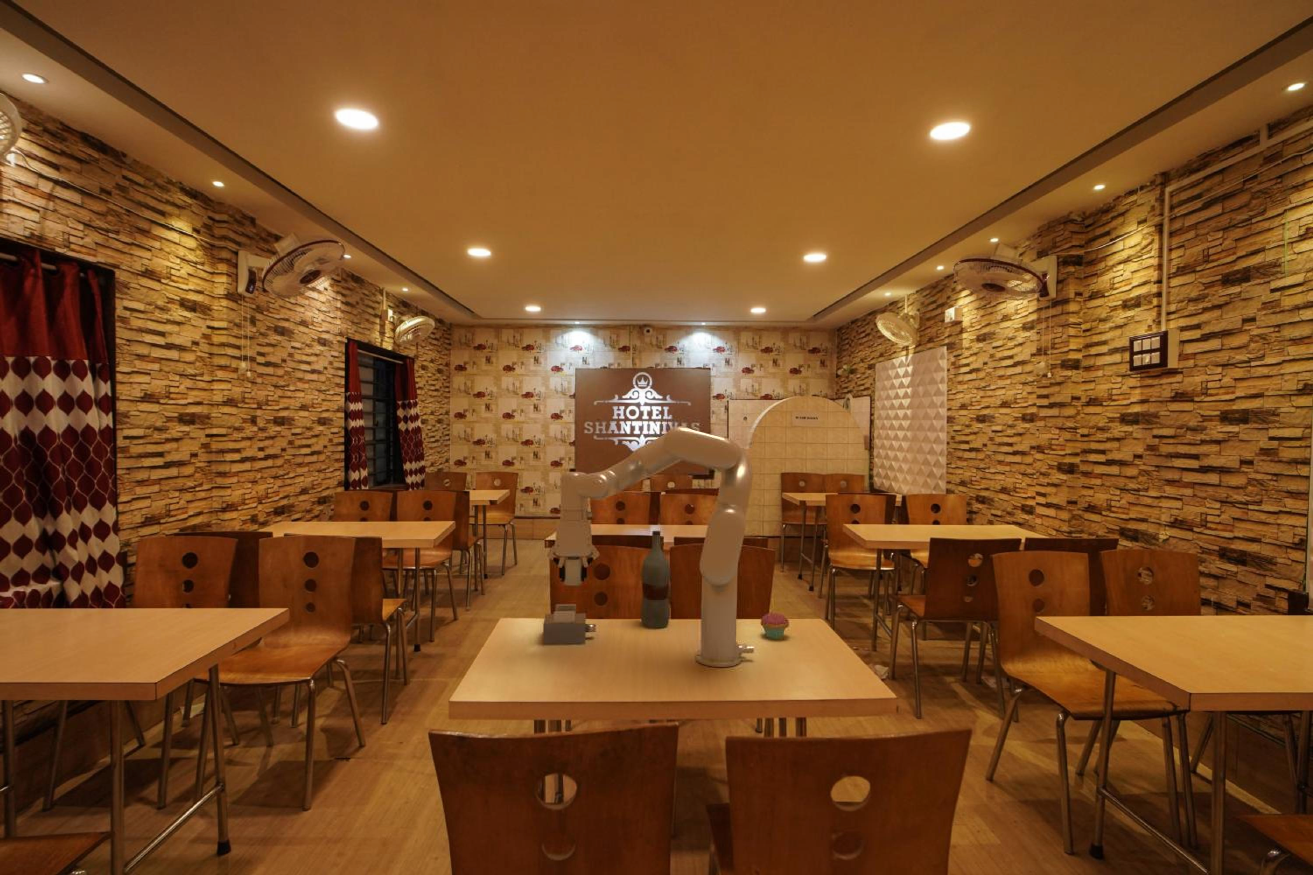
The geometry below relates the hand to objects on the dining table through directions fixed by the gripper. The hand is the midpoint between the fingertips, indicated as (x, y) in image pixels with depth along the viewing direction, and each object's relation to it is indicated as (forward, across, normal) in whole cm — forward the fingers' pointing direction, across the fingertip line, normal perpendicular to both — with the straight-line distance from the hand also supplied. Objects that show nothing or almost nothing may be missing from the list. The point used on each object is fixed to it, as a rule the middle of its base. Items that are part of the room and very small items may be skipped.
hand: (572, 579), depth 176 cm
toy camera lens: (+1, 0, 0) cm, 1 cm away
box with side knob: (+20, +1, -11) cm, 22 cm away
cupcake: (+20, -61, -6) cm, 64 cm away
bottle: (+20, -26, -21) cm, 39 cm away
